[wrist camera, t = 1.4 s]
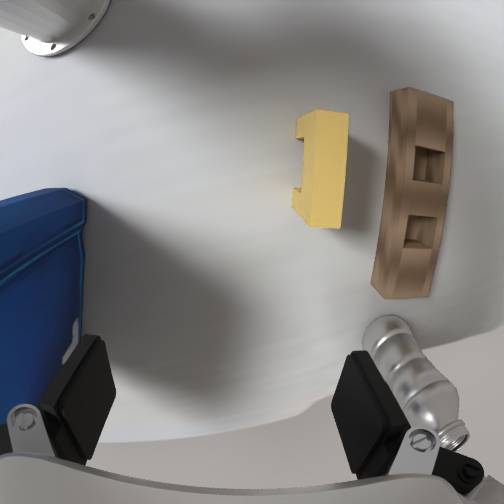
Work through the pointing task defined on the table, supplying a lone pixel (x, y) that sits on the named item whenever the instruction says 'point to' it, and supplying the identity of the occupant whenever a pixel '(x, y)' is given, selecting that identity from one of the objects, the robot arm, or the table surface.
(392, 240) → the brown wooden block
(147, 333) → the table surface
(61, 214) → the book
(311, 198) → the yellow notched flat block
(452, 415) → the plastic bottle
